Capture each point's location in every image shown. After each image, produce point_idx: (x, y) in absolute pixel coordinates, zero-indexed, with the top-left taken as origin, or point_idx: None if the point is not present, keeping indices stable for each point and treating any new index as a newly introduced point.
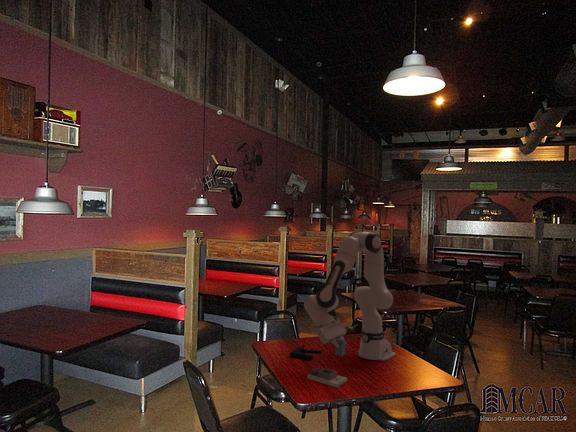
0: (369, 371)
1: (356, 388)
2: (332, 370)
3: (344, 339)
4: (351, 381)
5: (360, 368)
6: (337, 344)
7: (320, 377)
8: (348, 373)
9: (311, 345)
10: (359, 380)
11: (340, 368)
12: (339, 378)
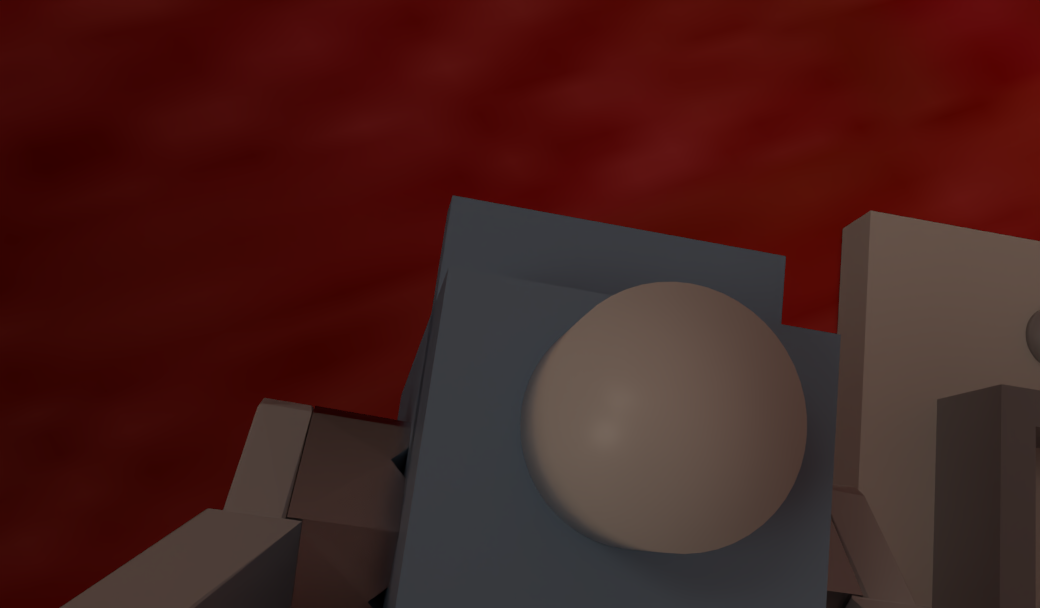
0: (115, 11)
1: (1011, 13)
2: (1015, 493)
3: (470, 320)
4: (805, 160)
5: (23, 213)
6: (877, 585)
7: None
8: None
9: None
10: (680, 57)
11: None
12: (984, 322)
